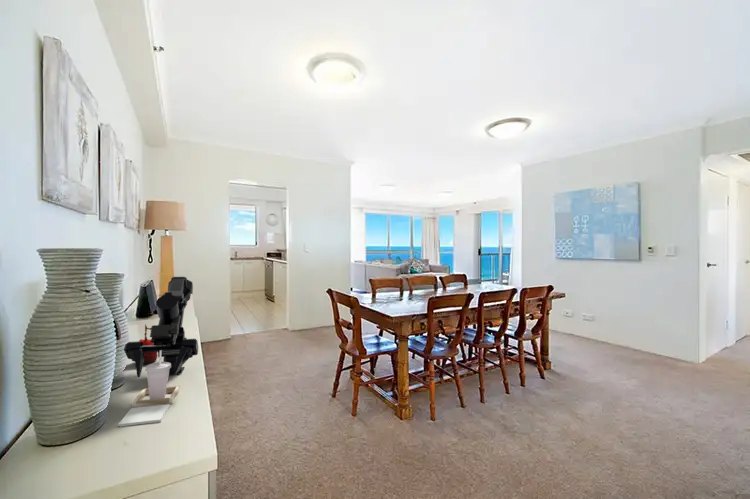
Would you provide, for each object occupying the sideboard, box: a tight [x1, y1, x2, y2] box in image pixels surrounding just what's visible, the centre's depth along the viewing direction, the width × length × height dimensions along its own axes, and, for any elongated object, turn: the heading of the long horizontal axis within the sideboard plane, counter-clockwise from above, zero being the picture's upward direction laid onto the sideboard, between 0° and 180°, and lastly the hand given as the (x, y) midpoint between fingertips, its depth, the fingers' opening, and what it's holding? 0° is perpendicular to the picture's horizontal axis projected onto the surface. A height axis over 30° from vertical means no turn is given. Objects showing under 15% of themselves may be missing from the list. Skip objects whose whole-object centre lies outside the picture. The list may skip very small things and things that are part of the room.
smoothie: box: [144, 350, 171, 399], centre depth 100 cm, size 6×6×14 cm
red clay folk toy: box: [138, 324, 158, 365], centre depth 131 cm, size 8×7×15 cm
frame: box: [131, 385, 181, 408], centre depth 100 cm, size 10×10×2 cm
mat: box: [117, 404, 171, 427], centre depth 89 cm, size 9×9×1 cm
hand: (156, 375), depth 99 cm, fingers open, 9 cm apart
